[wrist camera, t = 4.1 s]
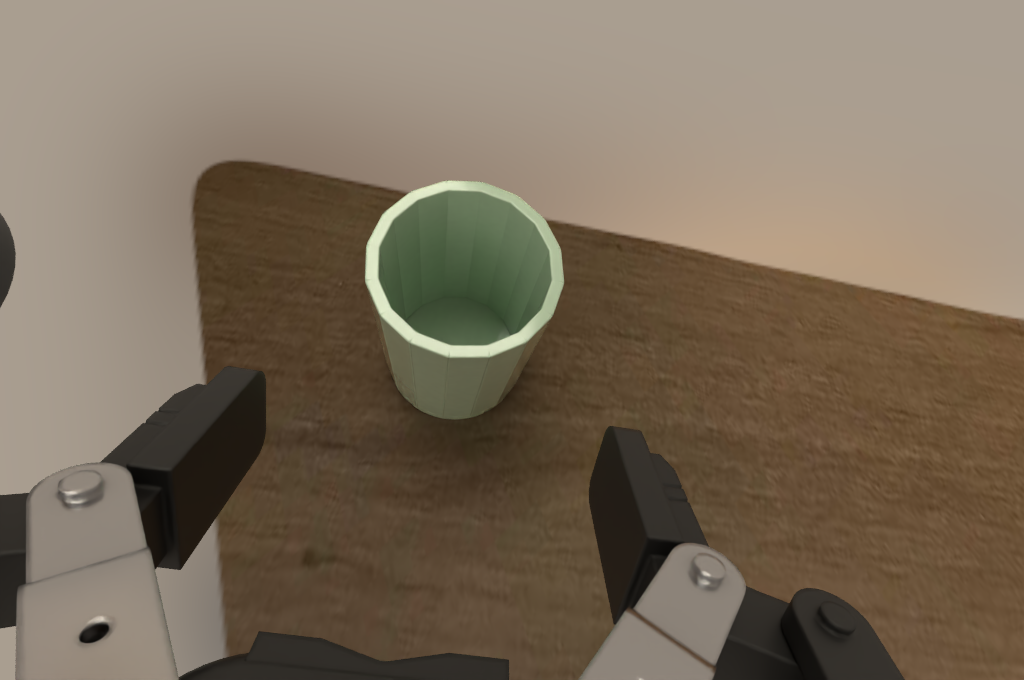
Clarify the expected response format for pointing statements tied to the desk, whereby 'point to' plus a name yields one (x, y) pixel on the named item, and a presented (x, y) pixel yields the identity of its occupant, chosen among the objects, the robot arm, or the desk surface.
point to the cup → (461, 293)
